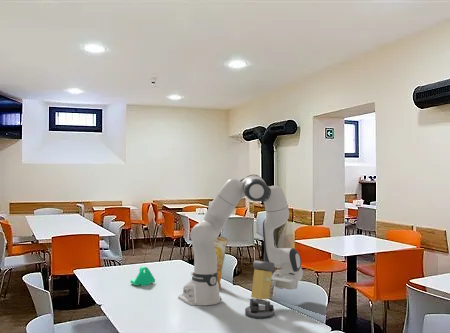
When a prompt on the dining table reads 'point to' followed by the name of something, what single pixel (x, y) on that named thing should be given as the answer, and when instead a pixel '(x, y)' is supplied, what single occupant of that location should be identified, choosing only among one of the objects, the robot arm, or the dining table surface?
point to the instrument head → (262, 281)
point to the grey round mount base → (260, 310)
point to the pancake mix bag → (220, 255)
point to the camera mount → (143, 277)
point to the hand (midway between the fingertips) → (266, 284)
